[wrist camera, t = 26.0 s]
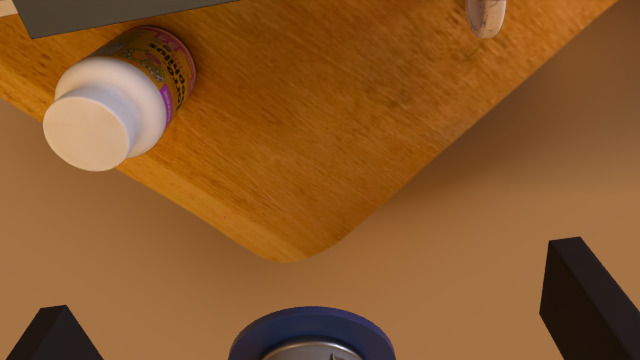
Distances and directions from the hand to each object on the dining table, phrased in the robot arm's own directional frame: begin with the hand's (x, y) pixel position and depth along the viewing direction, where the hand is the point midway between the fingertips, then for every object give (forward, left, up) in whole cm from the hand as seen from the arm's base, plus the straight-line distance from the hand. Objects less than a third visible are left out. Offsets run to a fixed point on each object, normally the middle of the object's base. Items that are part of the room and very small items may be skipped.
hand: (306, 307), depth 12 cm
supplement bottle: (+1, +13, -27) cm, 30 cm away
